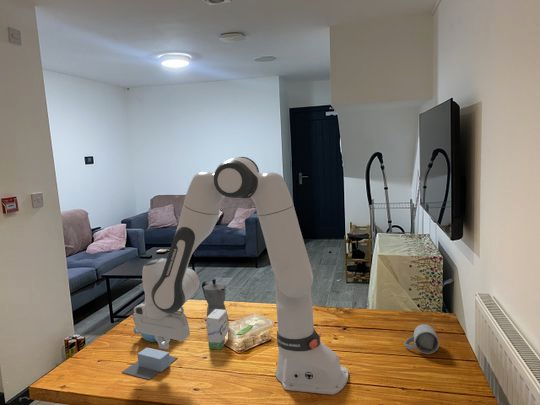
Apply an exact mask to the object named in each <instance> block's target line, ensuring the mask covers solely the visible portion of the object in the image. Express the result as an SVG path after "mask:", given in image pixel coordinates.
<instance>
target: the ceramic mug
mask: <svg viewBox="0 0 540 405" xmlns="http://www.w3.org/2000/svg"><path fill="white" fill-rule="evenodd" d="M439 340H440V339H439V337H438V335H437V333H436V331H435V329H434V328H433V327H432V326H431V325H429V324H423V323H422V324H419V325H417V326H416V327H415V329H414V331H413V336H411V337H409V338H407V339H406V340H405V341H404V344H403V345H404V346H405V348H406V349H407V350H413V349H416V350H417V351H418V352H420V353H421V354H425V355H431V354H434V353H435V352H437V350H438V349H439V347H440V341H439ZM412 342H413V343H412Z"/></svg>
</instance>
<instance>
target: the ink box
mask: <svg viewBox="0 0 540 405" xmlns="http://www.w3.org/2000/svg"><path fill="white" fill-rule="evenodd" d="M227 315H228V310H227V309H226V310H221V309H215V310H214V311H213V312H212V313H211V314H210V315H208V317H207V316H206V318H205V321H206V330H207V340H208V349H209V350H222V349H223V348H224V346H225V345H224V343H225V336H226V334H227V332H228V331H229V323H228V322H229V318H228V319H227ZM225 344H226V343H225Z"/></svg>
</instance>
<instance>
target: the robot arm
mask: <svg viewBox="0 0 540 405" xmlns="http://www.w3.org/2000/svg"><path fill="white" fill-rule="evenodd" d="M225 197H227V198H232V199H251V200H252V202H253V203H254V208H255V210H256V214H257V217H258V221H259V224H260V228H261V231H262V235H263V238H264V239H263V240H264V242H265V247H266V250H267V254H268V258H269V262H270V266H271V270H272V274H273V278H274V289H275V291H274V292H275V304H276V319H277V321H276V322H277V331H276V343H277V347H278V356H277V357H278V359H277V367H276V371H275V376H276V379H277V380H278V381H279V382H280V383H281V386H282V388H283V390H286V391H292V392H293V391H294V392H303V393H313V394H323V395H336V394H338V393H339V392H340V391H342V390H343V389H344V387H345V386H346V384H347V383H348V380H349V371H348V368H347V367H345V366H342V365H341V360H340V358H339V356H338V354H337V353H336V352H335V351H333V350H332V349H330V348H329V347H328V346H327V345H326V344H324V343H323V342H322V341H321V337H322V331H320V332H319V333H317V331H316V330H315V327H314V326H315V325H314V307H313V299H312V292H311V289H312V286H313V282H314V273H313V272H314V271H313V268H312V265H311V263H310V258H309V255H308V251H307V248H306V245H305V241H304V238H303V235H302V231H301V228H300V224H299V220H298V216H297V213H296V210H295V206H294V202H293V198H292V196H291V193H290V190H289V187H288V186H287V183H286V182H285V180H284V177H283V176H282V174H279V173H277V172H270V171H269V172H264V173H262V172H261V173H260V170H259V167H258V165H257V164H256V162H255V161H254V160H253V159H251V158H249V157H246V156H238V157H237V156H236V157H231V158H229V159H227V160H225V161H223V162H222V163H220V164H219V165H218V166H217V168H216V169H215V171H214V172H210V171H201V172H198V173H196V174H195V175H193V176H192V179H191V181H190V184H189V185H188V188H187V191H186V194H185V196H184V201H183V205H182V207H181V208H182V209H181V212H180V217H179V221H178V223H177V227H176V231H175V235H174V237H173V240H172V242H171V245H170V248H169V252H168V255H167V257H166V258H164V257H159V258H155V259H153V260H150V261H148V262H146V263H145V264H144V265H143V268H142V273H141V274H142V275H141V276H142V277H141V278H142V289H143V291H144V294H145V295H144V302H141V303H140V304H138V305H136V306H135V307H133V313H134V315H135V323H134V326H135V327H136V331H138V332H140V333H145V334H150V335H155V339H156V341H155V342H157V344H158V348H159V349H163V350H167V349H170V341H171V340H176V341H180V342H183V341H185V340H186V339H188V338H189V336H190V334H191V332H190V327H189V322H188V319H187V315H186V314H185V313H183V312H182V311H181V307H183V306H184V304H185V303H186V302H188V301H189V300H190V299H191V298H192V297H193V296H194V295H195V294H196V293H197V292H198V291H199V289H200V287H201V279H200V276H199V275H198V273H197V271H195V270H194V269H193V268H190V267H189V265H190V264H189V263H190V260H191V257H192V255H193V254H194V252H195V250H197V248H198V246H200V244H201V243H202V242H203V241H204V240H206V238H207V237H208V236H209V235H211V233H212V232H213V230H214V228H215V226H216V224H217V222H218V219H219V216H220V215H219V214H220V213H221V212H220V211H221V206H222V203H223V200H224V199H225ZM135 327H134V328H135ZM140 333H139V334H140ZM162 337H163V338H164V339H162Z"/></svg>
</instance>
